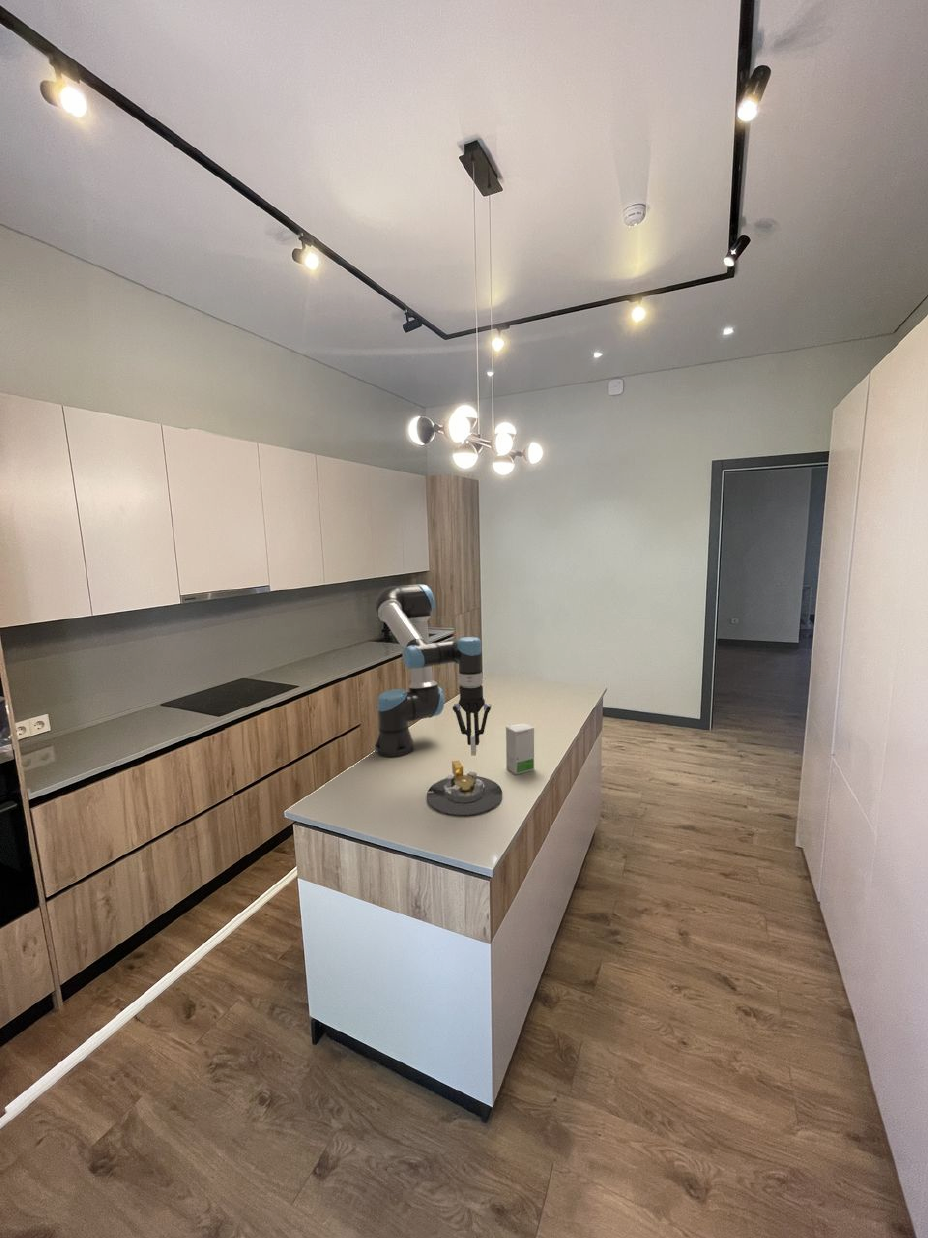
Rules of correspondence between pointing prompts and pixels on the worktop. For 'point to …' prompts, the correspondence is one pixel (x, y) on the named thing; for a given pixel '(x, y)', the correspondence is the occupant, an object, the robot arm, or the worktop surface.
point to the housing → (461, 809)
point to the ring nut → (455, 791)
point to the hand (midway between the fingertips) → (473, 753)
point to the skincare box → (520, 748)
